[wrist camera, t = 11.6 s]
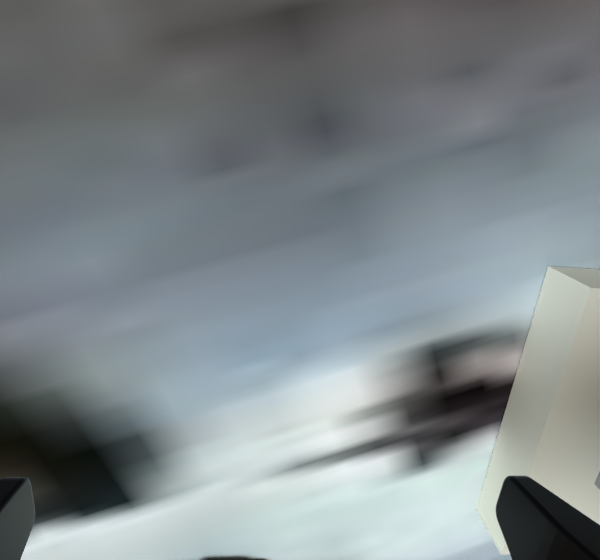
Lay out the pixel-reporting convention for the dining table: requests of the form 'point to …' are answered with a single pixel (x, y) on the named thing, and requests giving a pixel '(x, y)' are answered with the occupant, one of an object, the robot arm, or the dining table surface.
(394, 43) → the dining table surface
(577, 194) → the dining table surface
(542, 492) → the robot arm
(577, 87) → the dining table surface
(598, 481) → the grey cube
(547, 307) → the base block
